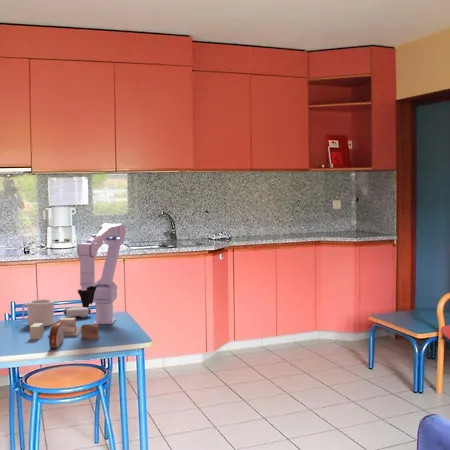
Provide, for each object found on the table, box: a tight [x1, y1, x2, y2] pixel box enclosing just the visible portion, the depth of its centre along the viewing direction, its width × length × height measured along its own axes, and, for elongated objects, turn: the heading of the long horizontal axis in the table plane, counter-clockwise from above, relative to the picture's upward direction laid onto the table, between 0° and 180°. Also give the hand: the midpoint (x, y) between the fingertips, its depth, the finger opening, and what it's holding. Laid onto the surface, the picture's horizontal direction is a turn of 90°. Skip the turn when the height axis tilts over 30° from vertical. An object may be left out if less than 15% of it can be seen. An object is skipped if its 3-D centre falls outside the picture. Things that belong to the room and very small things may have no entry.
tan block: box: [58, 317, 77, 332], centre depth 232 cm, size 4×6×5 cm, turn 89°
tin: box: [48, 320, 65, 349], centre depth 214 cm, size 15×3×8 cm, turn 4°
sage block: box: [29, 323, 45, 340], centre depth 226 cm, size 4×6×5 cm, turn 2°
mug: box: [21, 298, 55, 327], centre depth 247 cm, size 14×11×10 cm
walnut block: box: [80, 323, 100, 340], centre depth 224 cm, size 4×6×5 cm, turn 92°
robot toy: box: [62, 305, 92, 319], centre depth 264 cm, size 12×4×15 cm
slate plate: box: [48, 326, 81, 338], centre depth 232 cm, size 13×11×1 cm
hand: (87, 305), depth 235 cm, fingers open, 7 cm apart
